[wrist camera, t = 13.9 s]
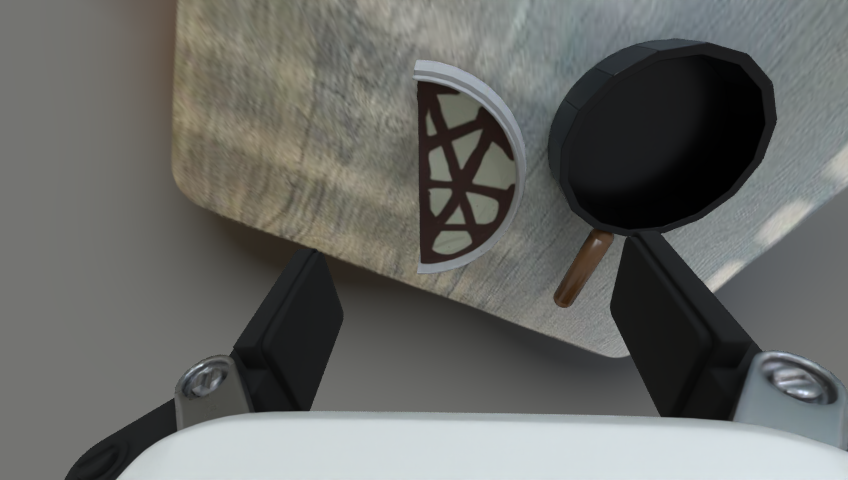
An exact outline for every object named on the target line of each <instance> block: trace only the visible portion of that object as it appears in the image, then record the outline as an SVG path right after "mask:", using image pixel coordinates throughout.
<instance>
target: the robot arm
mask: <svg viewBox="0 0 848 480" xmlns="http://www.w3.org/2000/svg"><path fill="white" fill-rule="evenodd" d="M610 311H611V315H612V317H613V319H614V321H615V323H616V325H617V327H618V330H619V332H620V334H621V336H622V338H623V340H624V342H625V344H626V346H627V348H628V350H629V352H630V354H631V356H632V359H633V360H634V363H635V365H636V367H637V369H638V371H639V373H640V375H641V377H642V379H643V381H644V383H645V386H646V388H647V390H648V392H649V394H650V396H651V398H652V400H653V402H654V404H655V406H656V408H657V410H658V412H659V414H660V416H661V417H642V416H608V415H607V416H606V415H557V414H556V415H555V414H506V413H505V414H503V413H441V412H439V413H438V412H354V411H353V412H352V411H349V412H348V411H310V409H311V406H312V403H313V400H314V398H315V395H316V392H317V389H318V387H319V384H320V382H321V379H322V376H323V374H324V371H325V368H326V365H327V363H328V360H329V357H330V354H331V352H332V349H333V346H334V343H335V341H336V338H337V336H338V333H339V330H340V327H341V325H342V322H343V310H342V307H341V304H340V301H339V298H338V296H337V292H336V289H335V286H334V284H333V280H332V278H331V275H330V272H329V269H328V266H327V263H326V260H325V257H324V255H323V253H319V252H318V250H317V249H315V248H314V249H299V250H297V251H296V252H295V254H294V255H293V257H292V258H291V260H290V261H289V263H288V264H287V266H286V267H285V269H284V270H283V272H282V273H281V275H280V276H279V278H278V279H277V281H276V283H275V284H274V286H273V287H272V289H271V290H270V292H269V293H268V295H267V296H266V298H265V299H264V301H263V302H262V304H261V305H260V307H259V308H258V310H257V311H256V313H255V315H254V316H253V317H252V319H251V321H250V322H249V324H248V325H247V327H246V328H245V330H244V331H243V333H242V334H241V336H240V337H239V339H238V340H237V342H236V343H235V345H234V346H233V348H234V349H233V351H232V352H231V354H230V355H229V356H227V355H215V356H211V357H208V358H206V359H203V360H201V361H200V362H198V363H196V364H195V365H193V366H192V367H191V368H190V369H189V370H187V371H186V372H185V373H184V375H183V376H182V377H181V378H180V379H179V381H178V383H177V385H176V387H175V393H174V398H173V399H172V400H170V401H168V402H167V403H165V404H163V405H161V406H160V407H158V408H156V409H155V410H153V411H151V412H149V413H148V414H146V415H144V416H143V417H141V418H139V419H138V420H136V421H134V422H132V423H131V424H129V425H127V426H126V427H124V428H123V429H121V430H119V431H117V432H116V433H114V434H112V435H110V436H109V437H107V438H105V439H104V440H102V441H100V442H99V443H97V444H96V445H95V446H93V447H92V448H90V449H89V450H88V451H87V452H86V453H85V454H84V455H82V457H80V458H79V459H78V461H77V462H76V463H75V464H74V465H73V467H72V468H71V469H70V471H69V473H68V474H67V476H66V478H65V480H848V390H847V389H846V387H845V386H844V385H843V383H842V382H841V381H840V380H839V379H838V378H837V377H836V376H835V375H833V374H832V373H831V372H830V371H829V370H827V369H825V368H824V367H822V366H820V365H819V364H818V363H816V362H814V361H812V360H809V359H807V358H805V357H803V356H800V355H797V354H793V353H790V352H784V351H778V350H769V351H762V350H761V349H760V348H759V347H758V345H757V344H756V343H755V342H754V341H753V340H752V339H751V337H750V336H749V335H748V334H747V333H746V332H745V331H744V329H743V328H742V327H741V326H740V325H739V324H738V322H737V321H736V320H735V319H734V318H733V317H732V315H731V314H730V313H729V312H728V311H727V310H726V309H725V307H724V306H723V305H722V304H721V303H720V302H719V300H718V299H717V298H716V297H715V296H714V294H713V293H712V292H711V291H710V290H709V289H708V288H707V286H706V285H705V284H704V283H703V282H702V281H701V280H700V279H699V278H698V277H697V275H696V274H695V273H694V272H693V271H692V270H691V268H690V267H689V266H688V265H687V264H686V263H685V262H684V260H683V259H682V258H681V257H680V256H679V255H678V253H677V252H676V251H675V250H674V249H673V248H672V246H671V245H670V244H669V243H668V242H667V241H666V240H665V238H664V237H663V236H662V235H661V234H660V233H659V232H658V231H641V232H634V233H633V234H632V236H631V237H627V238H626V240H625V243H624V247H623V251H622V256H621V260H620V264H619V269H618V273H617V277H616V281H615V286H614V290H613V294H612V299H611V303H610Z"/></svg>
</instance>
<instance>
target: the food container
mask: <svg viewBox="0 0 848 480" xmlns="http://www.w3.org/2000/svg"><path fill="white" fill-rule="evenodd" d="M413 80H418V83H417V88H418V91H417V100H418V135H419V204H420V255H419V263H418V270H417V274H434V273H441V272H446V271H449V270H453V269H457V268H459V267H462V266H464V265H466V264H469V263H471V262H472V261H474V260H476V259H477V258H479V257H481V256H482V255H484V254H485V253H486V252H487V251H488V250H490V249H491V248H492V247H493V246H494V245H495V244H496V243H497V242H498V241H499V240H500V239H501V237H502V236H503V235H504V233H505V232H506V231H507V229H508V228H509V226H510V225H511V223H512V222H513V220H514V218H515V216H516V214H517V212H518V209H519V207H520V204H521V200H522V196H523V193H524V187H525V180H526V167H527V161H526V151H525V145H524V141H523V138H522V134H521V131H520V128H519V126H518V124H517V122H516V120H515V118H514V116H513V114H512V112H511V111H510V110H509V108H508V107H507V105H506V104H505V103H504V101H503V100H502V99H501V98H500V97H499V96H498V95H497V94H496V93H495V92H494V91H493V90H492V89H491V88H490V87H489V86H488V85H487V84H485V83H484V82H482V81H481V80H479V79H478V78H476V77H475V76H473V75H472V74H470V73H468V72H465V71H463V70H461V69H459V68H457V67H455V66H451V65H447V64H444V63H440V62H436V61H427V60H417V61H416V64H415V68H414V76H413Z"/></svg>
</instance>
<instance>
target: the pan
mask: <svg viewBox="0 0 848 480" xmlns="http://www.w3.org/2000/svg"><path fill="white" fill-rule="evenodd" d="M776 121H777V116H776V107H775V98H774V89H773V84H772V81H771V80H770V79H769V78H768V76H767V75H766V74H765V73H764V72H763V71H762V70H761V68H760V67H759V66H758V65H757V64H756V63H755V61H754V60H753V59H752V58H751V57H750V56H749V55H748V54H747V53H743V52H740V51H736V50H733V49H729V48H726V47H722V46H719V45H715V44H712V43H708V42H701V41H693V40H685V39H675V38H674V39H668V40H655V41H648V42H644V43H639V44H636V45H633V46H630V47H627V48H625V49H622V50H620V51H618V52H616V53H614V54H612V55H610V56H608V57H607V58H605V59H604V60H602V61H601V62H599V63H598V64H596V65H595V66H594V67H593V68H591V69H590V70H589V71H588V72H586V73H585V74H584V75H583V76H582V77H581V78H580V79H579V80H578V81H577V82H576V84H575V85H574V86H573V87H572V89H571V90H570V91H569V92H568V94H567V95H566V97H565V98H564V100H563V101H562V103H561V105H560V107H559V109H558V111H557V113H556V115H555V117H554V120H553V123H552V125H551V130H550V134H549V140H548V159H549V165H550V169H551V171H552V173H553V176H554V178H555V180H556V182H557V184H558V186H559V188H560V191H561V192H562V194H563V196H564V198H565V199H566V201H567V203H568V205H569V206H570V208H571V210H572V211H573V212H574V213H576V214H577V215H578V216H579V217H581V218H582V219H583V220H584V221H586V222H587V223H588V224H590V225H591V226H592V227H593V228H594V229H593V230H592V231H591V232H590V234H589V236H588V237H587V239H586V241H585V242H584V244H583V246H582V247H581V249H580V251H579V253H578V254H577V256H576V258H575V259H574V261H573V263H572V264H571V266H570V268H569V269H568V271H567V273H566V274H565V276H564V278H563V280H562V281H561V283H560V285H559V286H558V288H557V290H556V291H555V293H554V297H553V298H554V302H555V303H556V304H557V305H558V306H559V307H562V308H567V307H570V306H571V305H572V304H573V302H574V301H575V299H576V298H577V296H578V295H579V293H580V292H581V290H582V289H583V287H584V285H585V284H586V282H587V281H588V279H589V278H590V276H591V275H592V273H593V272H594V270H595V268H596V267H597V265H598V264H599V262H600V261H601V259H602V258H603V256H604V254H605V253H606V251H607V250H608V248H609V247H610V245H611V244H612V242H613V240H614V234H618V235H622V236H627V237H629V236H632V234H633V233H634V232H641V231H658V232H659V233H660V234H662V233H665V232H668V231H671V230H673V229H676V228H679V227H681V226H684V225H686V224H689V223H692V222H694V221H697V220H699V219H701V218H703V217H704V216H706V215H707V214H708V213H710V212H711V211H713V210H714V209H715V208H717V207H718V206H720V205H721V204H722V203H724V202H725V201H727V200H728V199H729V198H731V197H732V196H734V195H735V194H736V193H737V192H738V190H739V189H740V188H741V187H742V186H743V184H744V183H745V182H746V181H747V179H748V178H749V177H750V176H751V174H752V173H753V172H754V171H755V169H756V168H757V167H758V166H759V165H760V163H761V162H762V160H763V159H764V156H765V153H766V150H767V148H768V145H769V142H770V139H771V137H772V134H773V131H774V128H775V126H776V123H777V122H776Z"/></svg>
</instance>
